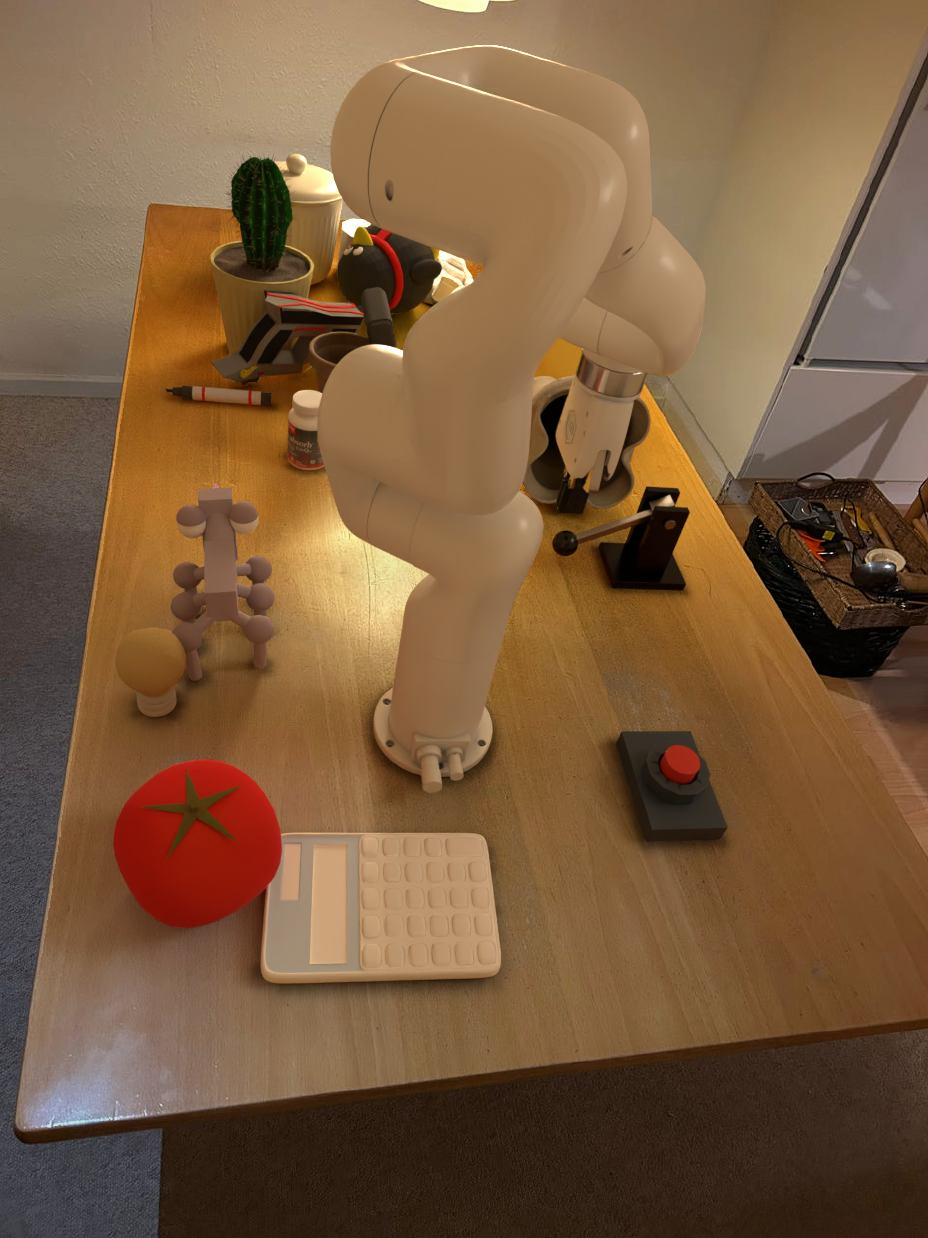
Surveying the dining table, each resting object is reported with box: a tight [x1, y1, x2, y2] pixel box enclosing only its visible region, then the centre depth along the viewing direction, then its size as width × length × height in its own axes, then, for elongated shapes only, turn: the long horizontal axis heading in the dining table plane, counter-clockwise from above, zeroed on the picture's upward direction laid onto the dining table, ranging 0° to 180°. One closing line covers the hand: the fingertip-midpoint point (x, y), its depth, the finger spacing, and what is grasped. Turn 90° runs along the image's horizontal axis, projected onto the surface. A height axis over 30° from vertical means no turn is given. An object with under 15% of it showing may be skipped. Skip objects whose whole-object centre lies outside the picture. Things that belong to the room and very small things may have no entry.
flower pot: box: [309, 332, 370, 393], centre depth 128 cm, size 12×11×10 cm
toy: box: [336, 224, 442, 315], centre depth 152 cm, size 20×16×20 cm
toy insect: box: [170, 482, 275, 682], centre depth 93 cm, size 20×11×14 cm, turn 12°
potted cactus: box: [209, 154, 314, 354], centre depth 130 cm, size 15×15×30 cm
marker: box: [164, 385, 273, 407], centre depth 127 cm, size 15×2×2 cm, turn 96°
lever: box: [551, 495, 676, 558], centre depth 109 cm, size 16×3×3 cm, turn 97°
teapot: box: [534, 337, 582, 380], centre depth 143 cm, size 14×20×13 cm
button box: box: [615, 730, 728, 842], centre depth 88 cm, size 12×8×4 cm, turn 7°
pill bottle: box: [286, 389, 325, 471], centre depth 118 cm, size 6×6×10 cm
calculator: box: [260, 832, 502, 984], centre depth 75 cm, size 13×20×2 cm, turn 95°
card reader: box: [361, 287, 397, 348], centre depth 132 cm, size 9×4×15 cm, turn 12°
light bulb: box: [114, 626, 187, 718], centre depth 84 cm, size 6×6×10 cm
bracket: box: [597, 485, 691, 591], centre depth 111 cm, size 10×8×12 cm
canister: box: [274, 153, 344, 286], centre depth 155 cm, size 18×18×21 cm
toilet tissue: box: [336, 218, 370, 270], centre depth 163 cm, size 9×13×9 cm
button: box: [660, 745, 700, 784], centre depth 86 cm, size 4×4×2 cm
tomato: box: [112, 758, 282, 930], centre depth 71 cm, size 13×14×12 cm
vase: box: [522, 375, 652, 510], centre depth 125 cm, size 22×22×28 cm
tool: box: [211, 290, 365, 387], centre depth 133 cm, size 5×25×15 cm, turn 134°
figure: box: [430, 251, 475, 303], centre depth 166 cm, size 13×8×25 cm
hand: (568, 509), depth 105 cm, fingers closed
